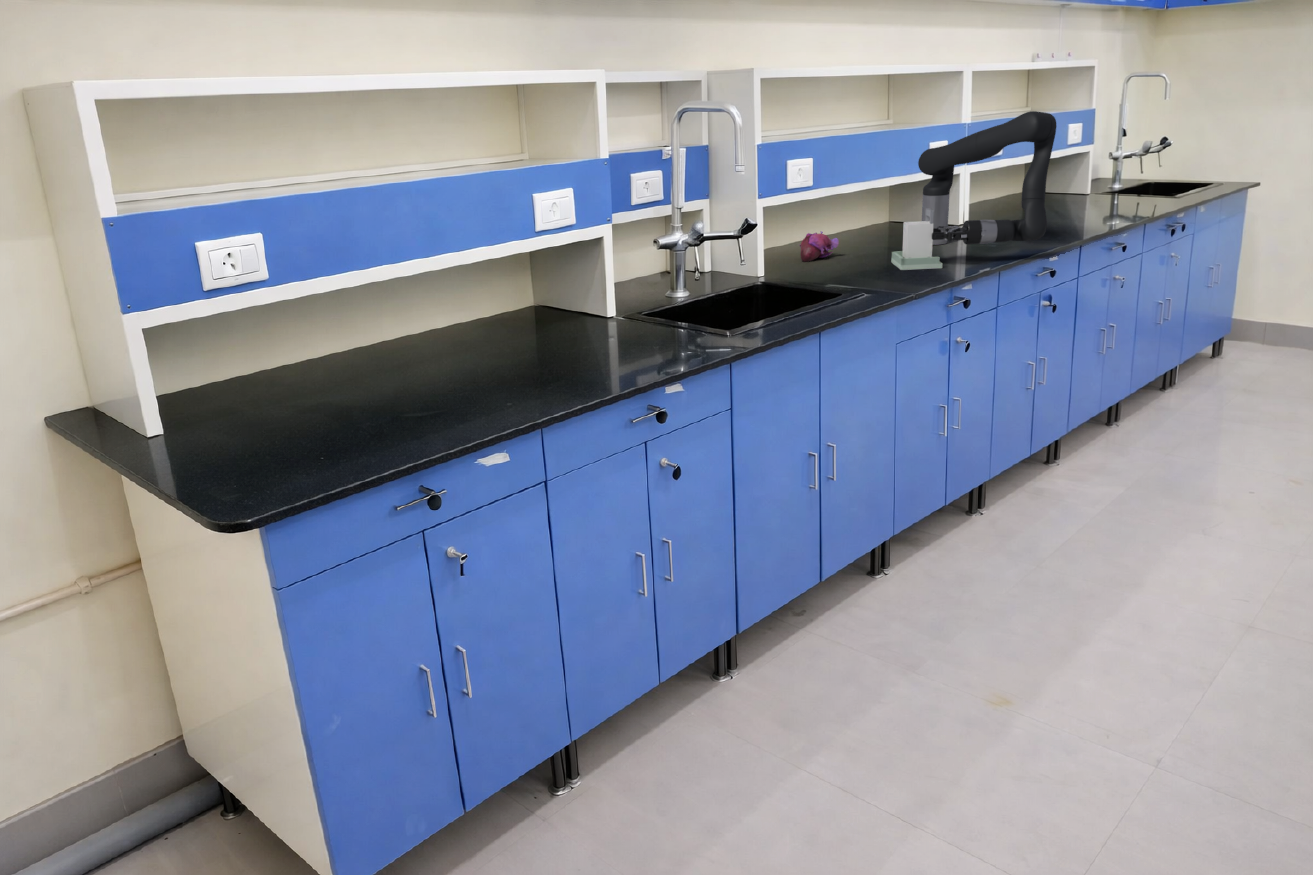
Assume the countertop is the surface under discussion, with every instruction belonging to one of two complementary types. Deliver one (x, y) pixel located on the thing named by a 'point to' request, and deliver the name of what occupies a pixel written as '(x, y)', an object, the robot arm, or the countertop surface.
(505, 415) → the countertop surface
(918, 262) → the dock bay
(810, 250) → the anatomical model
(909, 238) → the grey box with feet
